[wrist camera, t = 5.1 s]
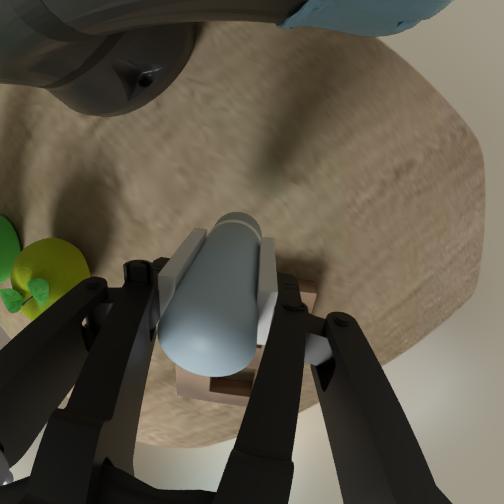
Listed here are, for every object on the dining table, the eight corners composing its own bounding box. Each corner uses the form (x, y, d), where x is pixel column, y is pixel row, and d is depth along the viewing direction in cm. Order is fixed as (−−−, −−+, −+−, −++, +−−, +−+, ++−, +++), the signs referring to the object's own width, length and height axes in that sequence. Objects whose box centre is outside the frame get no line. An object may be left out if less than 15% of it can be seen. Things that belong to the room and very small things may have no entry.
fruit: (39, 235, 27) (-17, 266, 17) (91, 220, 26) (29, 253, 16) (63, 301, 30) (18, 344, 20) (116, 297, 29) (71, 351, 19)
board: (180, 263, 27) (173, 273, 24) (312, 281, 27) (316, 293, 25) (181, 381, 33) (177, 395, 30) (280, 395, 33) (281, 409, 30)
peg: (214, 208, 20) (153, 289, 9) (265, 215, 20) (265, 306, 9) (210, 255, 21) (159, 367, 10) (258, 262, 21) (251, 383, 10)
